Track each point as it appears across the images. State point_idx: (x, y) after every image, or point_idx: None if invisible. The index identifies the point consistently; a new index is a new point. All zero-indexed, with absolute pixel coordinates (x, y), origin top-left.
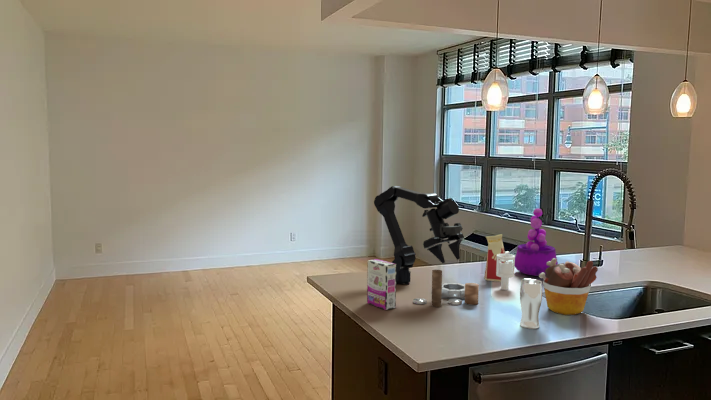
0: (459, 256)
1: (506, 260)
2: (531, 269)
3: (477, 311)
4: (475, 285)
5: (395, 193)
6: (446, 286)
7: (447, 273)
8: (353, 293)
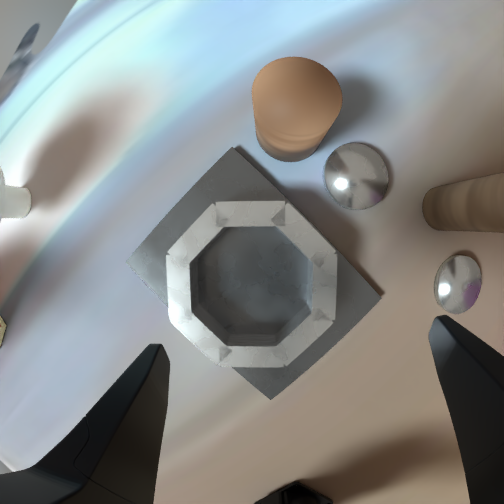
0: (139, 359)
1: None
2: None
3: (354, 52)
4: (293, 69)
5: None
6: (249, 342)
7: None
8: None
